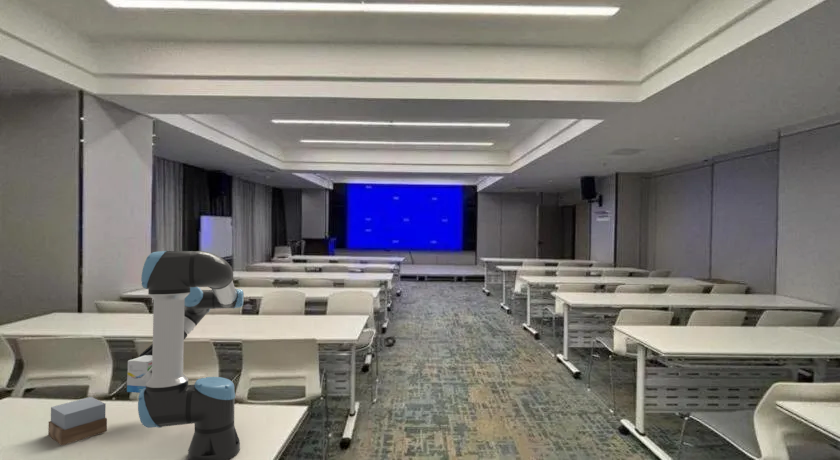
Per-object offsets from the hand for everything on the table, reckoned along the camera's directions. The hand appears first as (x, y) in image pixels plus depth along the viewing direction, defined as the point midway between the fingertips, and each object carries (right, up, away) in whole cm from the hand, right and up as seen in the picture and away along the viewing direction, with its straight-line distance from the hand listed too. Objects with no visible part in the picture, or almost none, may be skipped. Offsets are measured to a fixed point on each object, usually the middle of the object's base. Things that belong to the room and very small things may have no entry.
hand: (137, 378), depth 167 cm
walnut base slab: (-15, -17, -9) cm, 24 cm away
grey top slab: (-15, -12, -9) cm, 21 cm away
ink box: (+2, -5, +2) cm, 6 cm away
